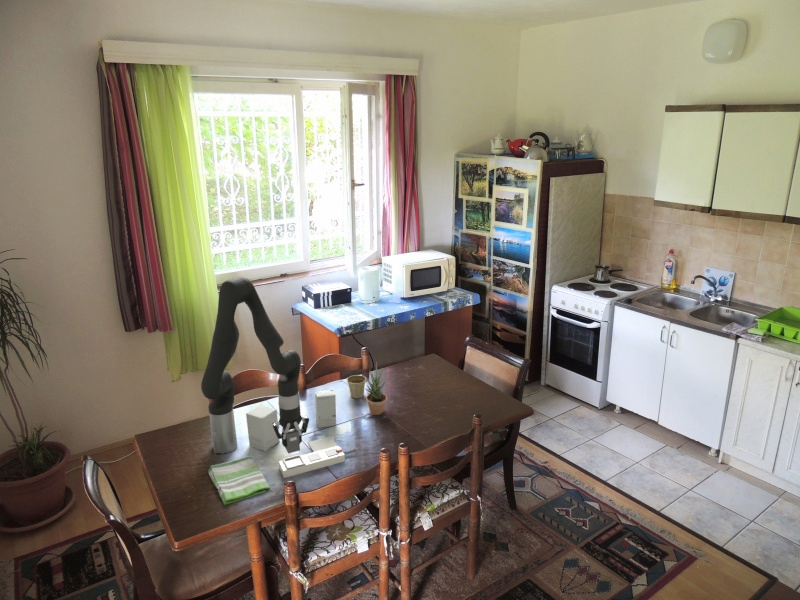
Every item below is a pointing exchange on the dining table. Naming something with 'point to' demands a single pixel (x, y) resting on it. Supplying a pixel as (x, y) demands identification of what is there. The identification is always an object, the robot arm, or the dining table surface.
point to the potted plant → (376, 395)
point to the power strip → (312, 461)
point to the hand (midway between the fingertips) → (292, 444)
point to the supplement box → (262, 427)
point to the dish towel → (238, 479)
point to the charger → (292, 441)
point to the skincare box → (325, 408)
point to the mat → (322, 444)
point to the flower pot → (356, 385)
